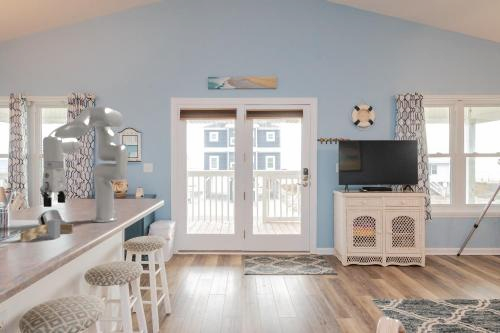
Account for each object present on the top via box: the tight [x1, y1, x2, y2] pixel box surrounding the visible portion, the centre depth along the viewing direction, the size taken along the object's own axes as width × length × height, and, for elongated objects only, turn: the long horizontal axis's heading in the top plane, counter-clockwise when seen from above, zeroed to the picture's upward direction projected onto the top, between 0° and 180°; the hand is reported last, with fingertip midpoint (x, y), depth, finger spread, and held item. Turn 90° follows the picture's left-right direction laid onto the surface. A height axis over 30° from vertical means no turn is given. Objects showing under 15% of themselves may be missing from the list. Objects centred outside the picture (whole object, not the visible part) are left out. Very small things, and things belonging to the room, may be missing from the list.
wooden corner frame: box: [20, 223, 74, 243], centre depth 147 cm, size 18×12×4 cm, turn 178°
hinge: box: [37, 209, 67, 226], centre depth 164 cm, size 17×5×10 cm, turn 9°
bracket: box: [35, 219, 61, 240], centre depth 145 cm, size 8×4×8 cm, turn 88°
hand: (54, 204), depth 145 cm, fingers open, 9 cm apart
